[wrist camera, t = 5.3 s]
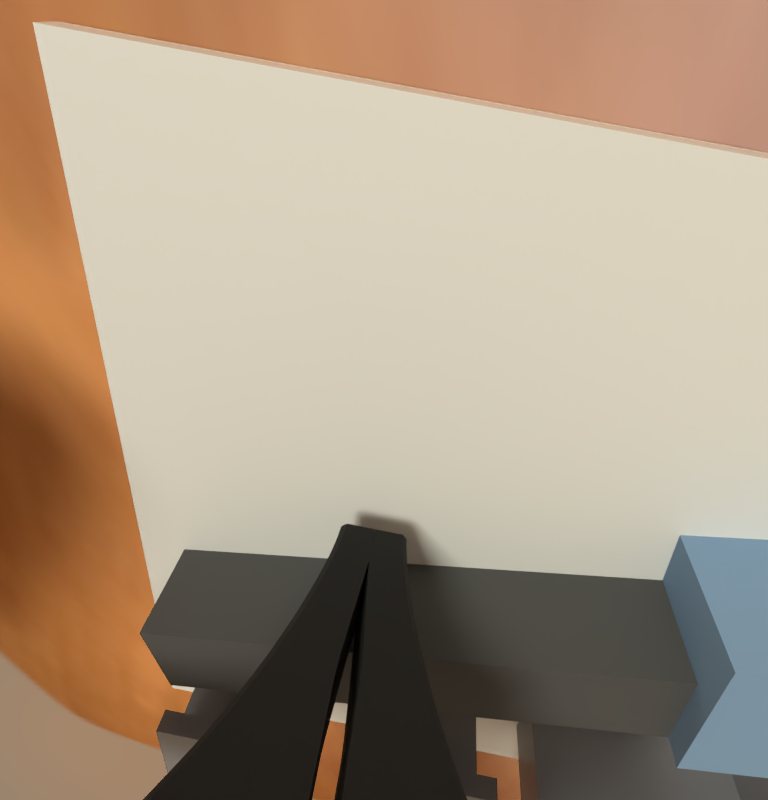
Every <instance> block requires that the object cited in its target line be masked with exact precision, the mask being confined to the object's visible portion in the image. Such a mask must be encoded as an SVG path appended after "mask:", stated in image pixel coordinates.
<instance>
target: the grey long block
mask: <svg viewBox="0 0 768 800" xmlns="http://www.w3.org/2000/svg"><path fill="white" fill-rule="evenodd" d="M326 561H327V558H312V557H296V556H281V555H266V554H250V553H235V552H219V551H204V550H188V549H184V551H183V553H182V555H181V557H180V558H179V560H178V562H177V564H176V566H175V568H174V570H173V572H172V573H171V575H170V577H169V579H168V581H167V583H166V585H165V587H164V588H163V590H162V592H161V594H160V596H159V598H158V600H157V602H156V603H155V605H154V607H153V609H152V611H151V613H150V615H149V617H148V618H147V620H146V622H145V624H144V626H143V628H142V630H141V632H140V635H141V636H142V638H143V640H144V641H145V643H146V645H147V646H148V648H149V650H150V651H151V653H152V655H153V656H154V658H155V660H156V661H157V663H158V664H159V666H160V668H161V669H162V671H163V673H164V674H165V676H166V678H167V679H168V681H169V683H170V684H171V685H175V686H184V687H194V688H203V689H213V690H222V691H232V692H239V691H240V690H241V689H242V687H243V686H244V685H245V684H246V682H247V681H248V680H249V679H250V677H251V676H252V675H253V673H254V672H255V671H256V669H257V668H258V667H259V665H260V664H261V663H262V661H263V660H264V659H265V657H266V656H267V655H268V653H269V652H270V651H271V649H272V648H273V646H274V645H275V643H276V642H277V640H278V639H279V638H280V636H281V635H282V633H283V632H284V630H285V629H286V627H287V626H288V624H289V623H290V621H291V620H292V619H293V617H294V616H295V614H296V612H297V611H298V609H299V608H300V606H301V604H302V603H303V601H304V599H305V598H306V596H307V594H308V593H309V591H310V590H311V588H312V586H313V585H314V583H315V581H316V580H317V578H318V576H319V574H320V572H321V570H322V568H323V567H324V565H325V563H326ZM407 568H408V578H409V586H410V593H411V600H412V606H413V612H414V617H415V622H416V627H417V633H418V638H419V643H420V647H421V651H422V656H423V660H424V664H425V668H426V672H427V676H428V680H429V684H430V688H431V691H432V695H433V698H434V702H435V705H436V709H437V712H438V713H441V714H450V715H460V716H469V717H479V718H488V719H498V720H507V721H517V722H526V723H536V724H545V725H555V726H564V727H574V728H583V729H593V730H602V731H612V732H621V733H631V734H640V735H650V736H659V737H668V738H669V741H670V745H671V749H672V752H673V756H674V760H675V763H676V767H677V768H681V769H690V770H699V771H708V772H717V773H726V774H735V775H743V776H752V777H761V778H768V540H763V539H744V538H725V537H706V536H687V535H680V536H679V539H678V541H677V544H676V546H675V549H674V552H673V554H672V557H671V559H670V562H669V565H668V567H667V570H666V572H665V575H664V578H663V580H651V579H635V578H620V577H605V576H589V575H574V574H558V573H543V572H528V571H512V570H497V569H481V568H466V567H451V566H435V565H420V564H407ZM356 623H357V622H356ZM355 628H356V627H355ZM354 635H355V632H354ZM353 645H354V636H353V639H352V643H351V646H350V650H349V654H348V657H347V661H346V664H345V668H344V672H343V675H342V679H341V682H340V686H339V689H338V693H337V697H336V700H335V702H336V703H346V704H348V695H349V685H350V675H351V665H352V655H353Z"/></svg>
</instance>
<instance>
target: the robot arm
mask: <svg viewBox="0 0 768 800" xmlns="http://www.w3.org/2000/svg"><path fill="white" fill-rule="evenodd" d="M374 530H375V531H374ZM406 545H407V539H406V538H405V537H404V536H403V535H402V534H397V533H392V532H387V531H382V530H377V529H372V528H367V527H362V526H357V525H352V524H345V525H343V526H341V529H340V531H339V534H338V537H337V539H336V542H335V544H334V546H333V549H332V551H331V553H330V555H329V557H328V559H327V561H326V563H325V565H324V567H323V568H322V570H321V572H320V574H319V576H318V578H317V580H316V581H315V583H314V585H313V586H312V588H311V590H310V591H309V593H308V594H307V596H306V598H305V599H304V601H303V603H302V604H301V606H300V608H299V609H298V611H297V612H296V614H295V616H294V617H293V619H292V620H291V621H290V623H289V624H288V626H287V627H286V629H285V630H284V632H283V633H282V635H281V636H280V638H279V639H278V640H277V642H276V643H275V645H274V646H273V648H272V649H271V651H270V652H269V653H268V655H267V656H266V657H265V659H264V660H263V661H262V663H261V664H260V665H259V667H258V668H257V669H256V671H255V672H254V673H253V675H252V676H251V677H250V679H249V680H248V681H247V682H246V684H245V685H244V686H243V687H242V689H241V690H240V691H239V693H238V694H237V695H236V696H235V698H234V699H233V700H232V701H231V702H230V704H229V705H228V706H227V707H226V708H225V710H224V711H223V712H222V713H221V714H220V715H219V717H218V718H217V719H216V720H215V721H214V723H213V724H212V725H211V726H210V727H209V729H208V730H207V731H206V732H205V733H204V734H203V735H202V737H201V738H200V739H199V740H198V741H197V742H196V743H195V745H194V746H193V747H192V748H191V749H190V750H189V751H188V752H187V753H186V754H185V755H184V757H183V758H182V759H181V760H180V761H179V762H178V763H177V764H176V765H175V766H174V767H173V768H172V769H171V770H170V772H169V773H168V774H167V775H166V776H165V777H164V778H163V779H162V780H161V781H160V782H159V783H158V784H157V786H156V787H155V788H154V789H153V790H152V791H151V792H150V793H149V794H148V795H147V796H146V797H145V798H144V799H143V800H312V796H313V791H314V786H315V781H316V776H317V771H318V766H319V761H320V757H321V753H322V749H323V744H324V740H325V736H326V733H327V729H328V725H329V722H330V718H331V715H332V711H333V707H334V704H335V700H336V697H337V693H338V689H339V686H340V682H341V679H342V675H343V672H344V668H345V664H346V661H347V657H348V654H349V650H350V646H351V643H352V639H353V636H354V645H353V655H352V665H351V675H350V685H349V695H348V705H347V715H346V725H345V736H344V744H343V752H342V759H341V766H340V772H339V777H338V783H337V789H336V794H335V800H467V797H466V795H465V792H464V790H463V787H462V784H461V782H460V779H459V776H458V774H457V771H456V768H455V765H454V762H453V759H452V756H451V753H450V750H449V747H448V744H447V741H446V738H445V735H444V732H443V729H442V725H441V722H440V719H439V716H438V712H437V709H436V705H435V702H434V698H433V695H432V691H431V688H430V684H429V680H428V676H427V672H426V668H425V664H424V660H423V656H422V651H421V647H420V643H419V638H418V633H417V627H416V622H415V617H414V612H413V606H412V600H411V593H410V586H409V578H408V568H407V549H406ZM356 622H357V623H356ZM355 627H356V628H355ZM354 632H355V635H354Z"/></svg>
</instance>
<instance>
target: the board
mask: <svg viewBox="0 0 768 800" xmlns="http://www.w3.org/2000/svg"><path fill="white" fill-rule="evenodd" d="M33 25H34V30H35V35H36V39H37V44H38V49H39V54H40V59H41V63H42V68H43V73H44V78H45V82H46V87H47V92H48V97H49V101H50V106H51V111H52V116H53V121H54V125H55V130H56V135H57V140H58V144H59V149H60V154H61V159H62V163H63V168H64V173H65V178H66V183H67V187H68V192H69V197H70V202H71V206H72V211H73V216H74V221H75V225H76V230H77V235H78V240H79V245H80V249H81V254H82V259H83V264H84V268H85V273H86V278H87V283H88V287H89V292H90V297H91V302H92V307H93V311H94V316H95V321H96V326H97V330H98V335H99V340H100V345H101V349H102V354H103V359H104V364H105V369H106V373H107V378H108V383H109V388H110V392H111V397H112V402H113V407H114V411H115V416H116V421H117V426H118V430H119V435H120V440H121V445H122V450H123V454H124V459H125V464H126V469H127V473H128V478H129V483H130V488H131V492H132V497H133V502H134V507H135V512H136V516H137V521H138V526H139V531H140V535H141V540H142V545H143V550H144V554H145V559H146V564H147V569H148V574H149V578H150V583H151V588H152V593H153V597H154V602H155V603H156V602H157V600H158V598H159V596H160V594H161V592H162V590H163V588H164V587H165V585H166V583H167V581H168V579H169V577H170V575H171V573H172V572H173V570H174V568H175V566H176V564H177V562H178V560H179V558H180V557H181V555H182V553H183V551H184V549H188V550H204V551H219V552H235V553H250V554H266V555H281V556H296V557H312V558H327V559H328V557H329V555H330V553H331V551H332V549H333V546H334V544H335V542H336V539H337V537H338V534H339V531H340V529H341V526H343V525H345V524H352V525H357V526H362V527H367V528H372V529H377V530H382V531H387V532H392V533H397V534H402V535H403V536H404V537H405V538H406V539H407V545H406V549H407V564H420V565H435V566H451V567H466V568H481V569H497V570H512V571H528V572H543V573H558V574H574V575H589V576H605V577H620V578H635V579H651V580H663V578H664V575H665V572H666V570H667V567H668V565H669V562H670V559H671V557H672V554H673V552H674V549H675V546H676V544H677V541H678V539H679V536H680V535H687V536H706V537H725V538H744V539H763V540H768V153H766V152H760V151H755V150H749V149H744V148H739V147H733V146H728V145H722V144H717V143H712V142H706V141H701V140H696V139H690V138H685V137H679V136H674V135H669V134H663V133H658V132H652V131H647V130H642V129H636V128H631V127H625V126H620V125H615V124H609V123H604V122H598V121H593V120H588V119H582V118H577V117H572V116H566V115H561V114H555V113H550V112H545V111H539V110H534V109H528V108H523V107H518V106H512V105H507V104H501V103H496V102H491V101H485V100H480V99H474V98H469V97H464V96H458V95H453V94H448V93H442V92H437V91H431V90H426V89H421V88H415V87H410V86H404V85H399V84H394V83H388V82H383V81H377V80H372V79H367V78H361V77H356V76H350V75H345V74H340V73H334V72H329V71H324V70H318V69H313V68H307V67H302V66H297V65H291V64H286V63H280V62H275V61H270V60H264V59H259V58H253V57H248V56H243V55H237V54H232V53H226V52H221V51H216V50H210V49H205V48H200V47H194V46H189V45H183V44H178V43H173V42H167V41H162V40H156V39H151V38H146V37H140V36H135V35H129V34H124V33H119V32H113V31H108V30H103V29H97V28H92V27H86V26H81V25H76V24H70V23H65V22H33ZM374 531H375V530H374ZM172 688H176V689H181V690H186V691H191V692H193V694H192V696H191V699H190V701H189V703H188V706H187V708H186V711H185V713H179V712H174V711H169V710H165V712H164V715H163V717H162V719H161V721H160V724H159V726H158V728H157V731H156V732H157V736H158V739H159V743H160V747H161V750H162V753H163V757H164V761H165V764H166V768H167V771H168V773H169V772H170V770H171V769H172V768H173V767H174V766H175V765H176V764H177V763H178V762H179V761H180V760H181V759H182V758H183V757H184V755H185V754H186V753H187V752H188V751H189V750H190V749H191V748H192V747H193V746H194V745H195V743H196V742H197V741H198V740H199V739H200V738H201V737H202V735H203V734H204V733H205V732H206V731H207V730H208V729H209V727H210V726H211V725H212V724H213V723H214V721H215V720H216V719H217V718H218V717H219V715H220V714H221V713H222V712H223V711H224V710H225V708H226V707H227V706H228V705H229V704H230V702H231V701H232V700H233V699H234V698H235V696H236V695H237V694H238V693H239V692H232V691H222V690H213V689H203V688H194V687H184V686H175V685H172ZM347 705H348V704H346V703H336V702H335V704H334V707H333V711H332V715H331V718H330V720H331V721H335V722H340V723H345V724H346V715H347ZM438 716H439V719H440V722H441V725H442V729H443V732H444V735H445V738H446V741H447V744H448V747H449V750H450V753H451V756H452V759H453V762H454V765H455V768H456V771H457V774H458V776H459V779H460V782H461V784H462V787H463V790H464V792H465V795H466V797H467V800H498V798H497V779H496V778H492V777H487V776H482V775H477V764H476V751H480V752H485V753H490V754H495V755H500V756H505V757H509V758H514V759H519V773H520V788H521V800H768V778H761V777H752V776H743V775H735V774H726V773H717V772H708V771H699V770H690V769H681V768H677V767H676V763H675V760H674V756H673V752H672V749H671V745H670V741H669V738H668V737H659V736H650V735H640V734H631V733H621V732H612V731H602V730H593V729H583V728H574V727H564V726H555V725H545V724H536V723H526V722H517V721H507V720H498V719H488V718H479V717H469V716H460V715H450V714H441V713H438Z"/></svg>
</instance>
